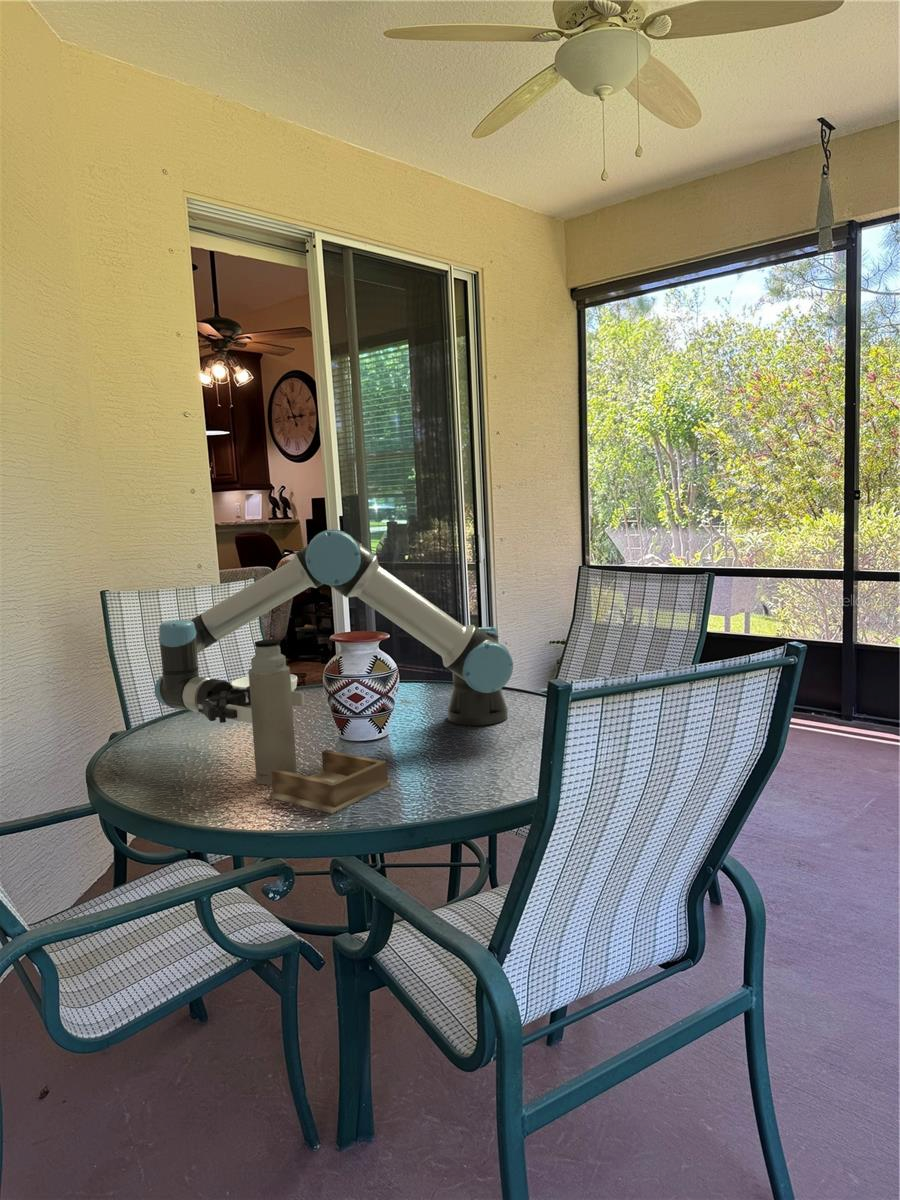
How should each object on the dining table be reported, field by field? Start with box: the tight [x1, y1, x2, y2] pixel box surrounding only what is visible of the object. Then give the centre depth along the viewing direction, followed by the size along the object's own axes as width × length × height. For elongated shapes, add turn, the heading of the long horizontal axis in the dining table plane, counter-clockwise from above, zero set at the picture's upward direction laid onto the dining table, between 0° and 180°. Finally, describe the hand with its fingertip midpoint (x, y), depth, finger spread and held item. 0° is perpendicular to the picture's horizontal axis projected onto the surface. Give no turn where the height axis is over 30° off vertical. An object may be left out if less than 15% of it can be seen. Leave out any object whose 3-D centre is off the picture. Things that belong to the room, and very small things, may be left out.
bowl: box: [230, 673, 298, 708], centre depth 212 cm, size 18×18×7 cm
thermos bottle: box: [248, 638, 298, 786], centre depth 149 cm, size 8×8×28 cm
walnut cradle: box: [269, 749, 391, 815], centre depth 141 cm, size 16×16×5 cm
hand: (277, 707), depth 147 cm, fingers open, 13 cm apart
